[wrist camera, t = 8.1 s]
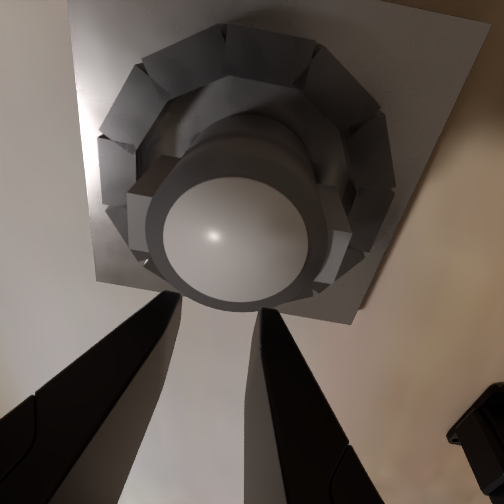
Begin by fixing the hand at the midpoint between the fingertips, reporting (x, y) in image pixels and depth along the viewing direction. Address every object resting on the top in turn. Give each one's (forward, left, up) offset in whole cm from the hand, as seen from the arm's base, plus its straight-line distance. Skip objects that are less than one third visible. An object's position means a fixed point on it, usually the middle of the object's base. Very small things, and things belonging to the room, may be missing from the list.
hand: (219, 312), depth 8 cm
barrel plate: (0, 0, -9) cm, 9 cm away
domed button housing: (0, 0, -8) cm, 8 cm away
